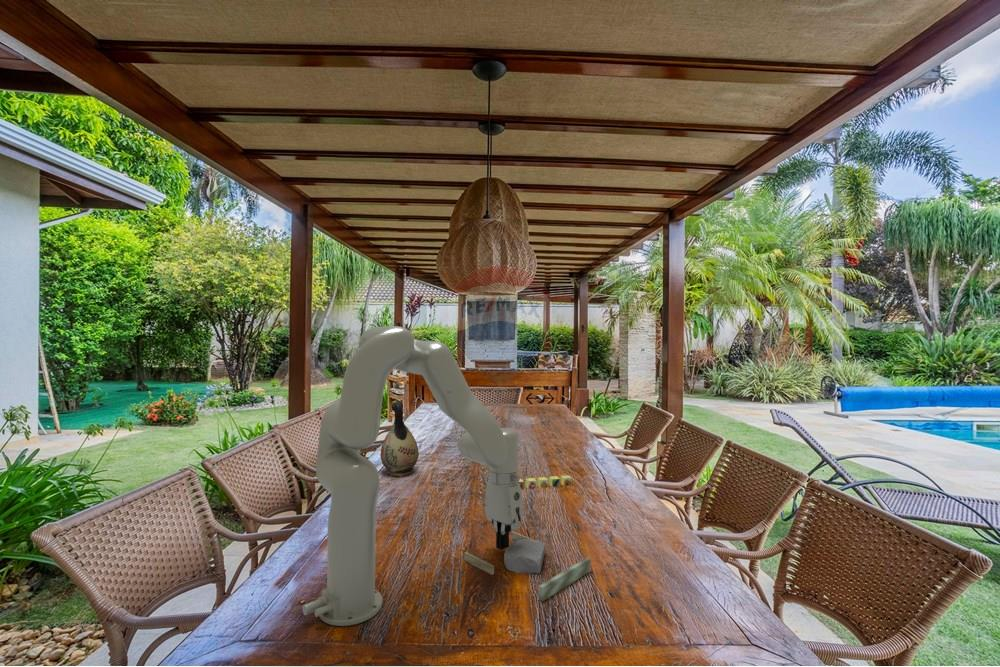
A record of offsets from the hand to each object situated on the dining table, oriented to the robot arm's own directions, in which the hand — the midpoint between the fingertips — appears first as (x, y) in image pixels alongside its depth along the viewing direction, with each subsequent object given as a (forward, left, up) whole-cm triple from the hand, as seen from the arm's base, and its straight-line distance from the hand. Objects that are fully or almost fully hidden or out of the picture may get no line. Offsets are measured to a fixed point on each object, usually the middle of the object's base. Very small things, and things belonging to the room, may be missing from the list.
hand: (502, 547), depth 121 cm
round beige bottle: (+20, +79, -2) cm, 81 cm away
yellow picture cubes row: (+50, +26, -3) cm, 57 cm away
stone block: (+1, -6, -2) cm, 7 cm away
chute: (0, -7, -2) cm, 8 cm away
